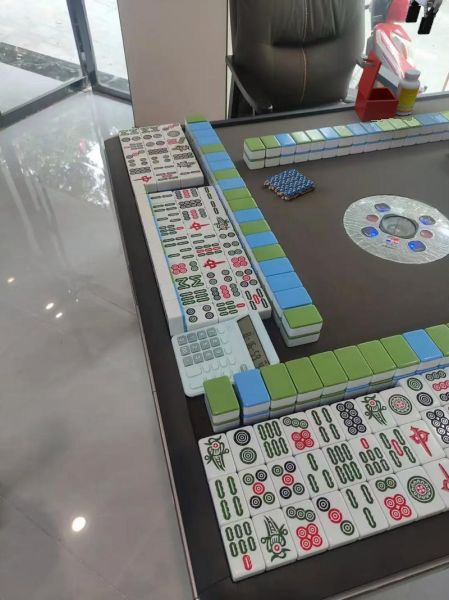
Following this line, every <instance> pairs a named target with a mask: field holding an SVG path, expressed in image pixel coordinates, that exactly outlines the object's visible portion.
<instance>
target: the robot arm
mask: <svg viewBox="0 0 449 600" xmlns="http://www.w3.org/2000/svg"><path fill="white" fill-rule="evenodd" d="M443 1H444V0H409V3H408V5H409V6H408V8H407V12H406V16H405V19H404V23H406V24H415V23H417V22H418V19H419V16H420V12H421V10H422V9H421V7H423V16H421V19H420V22H419V24H418V30H417V35H418V36H419V35H420V36H421V35H424V36H425V35H430V34H431V30H432V28H433V24H434V21H435V18H437V14H438V12H439V11H440V7H441V6H442V5H443Z"/></svg>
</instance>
